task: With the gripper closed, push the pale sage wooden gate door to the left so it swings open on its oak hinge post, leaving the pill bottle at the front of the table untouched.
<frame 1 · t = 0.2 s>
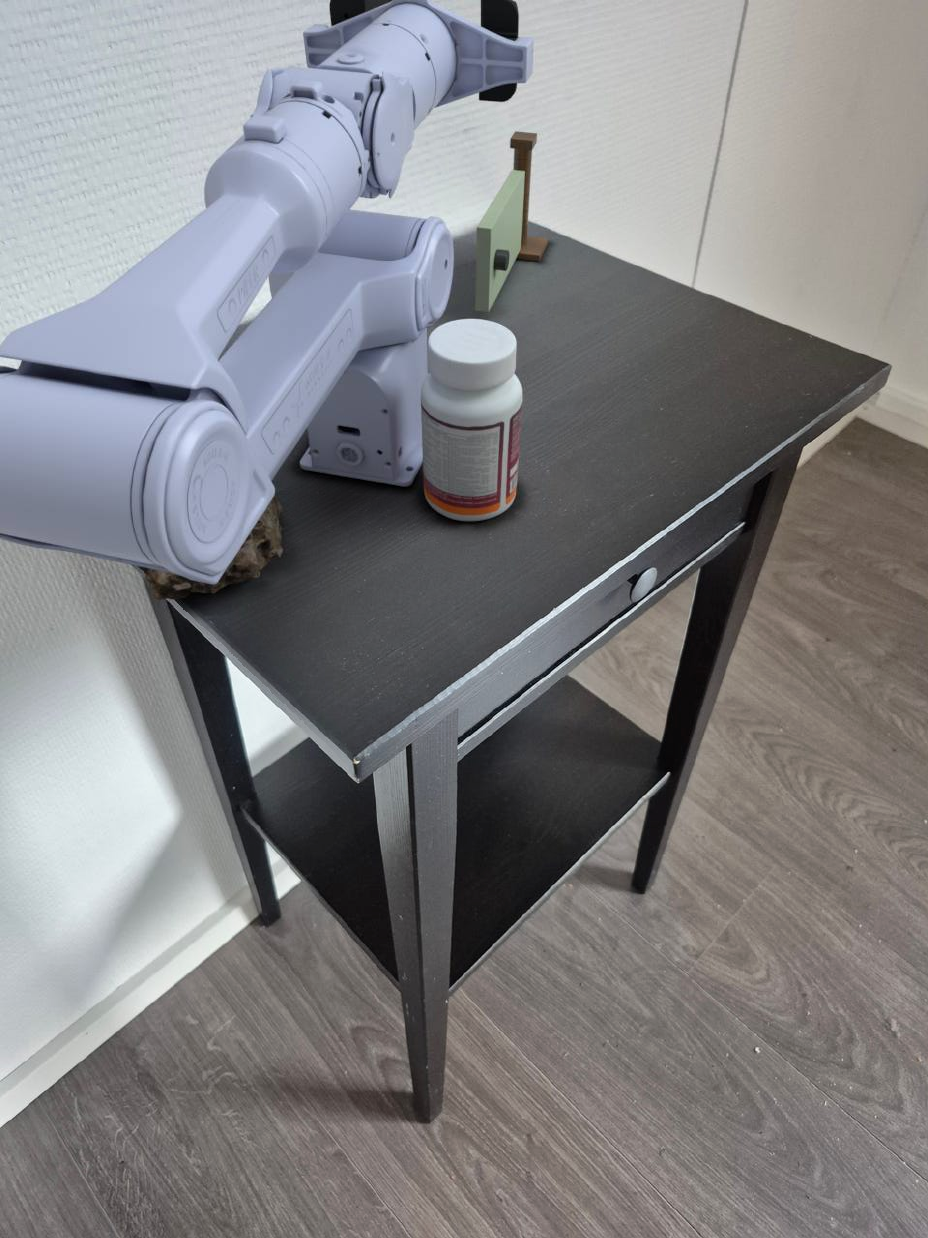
hand: (453, 17, 61), 21 cm above the table, tool horizontal, fingers open, 7 cm apart
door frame: (518, 249, 86), on the table
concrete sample: (203, 490, 52), point 4 cm above the table
pill bottle: (469, 498, 59), on the table
door: (506, 239, 77), point 4 cm above the table, hinge at 0.0°
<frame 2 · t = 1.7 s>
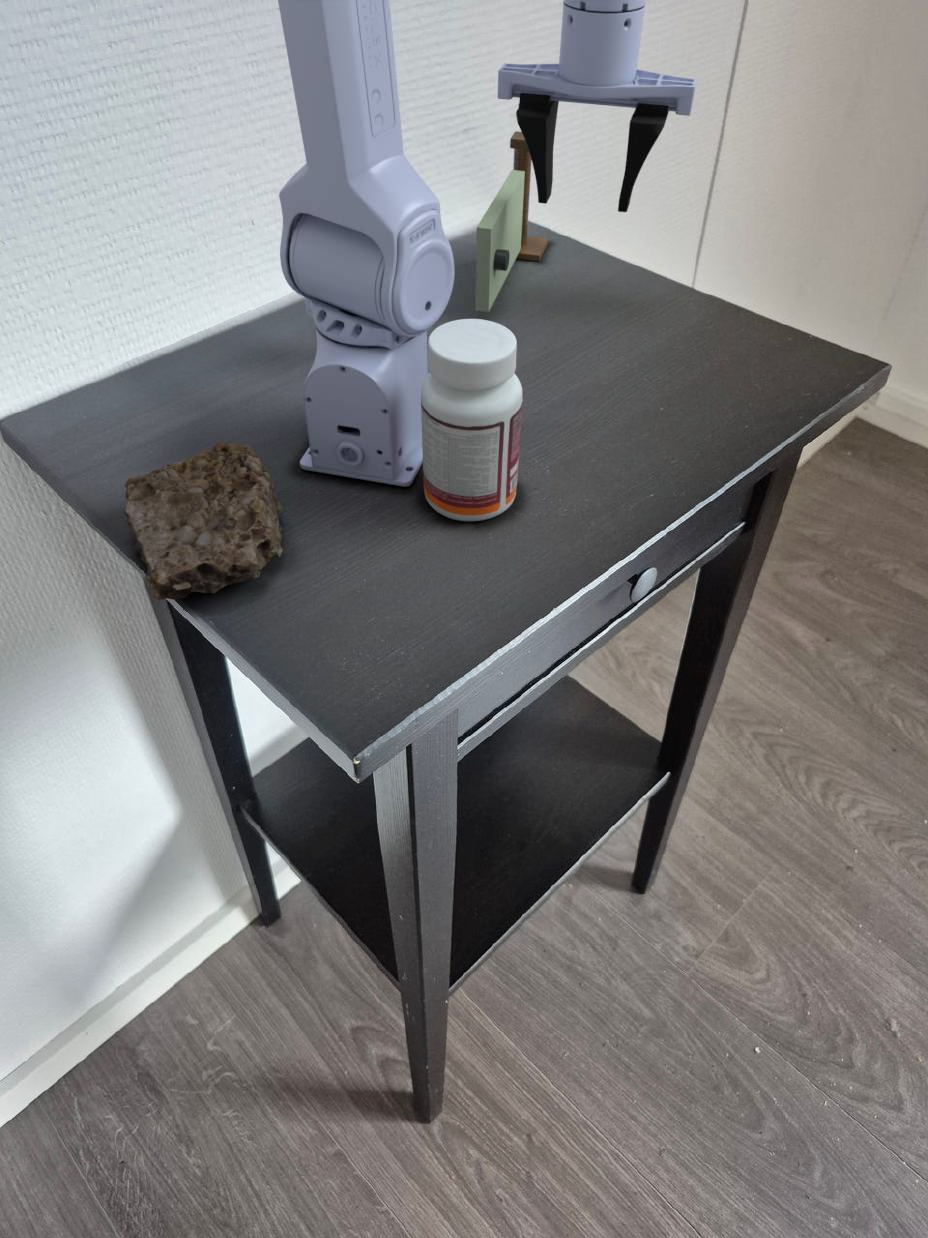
hand: (583, 202, 72), 8 cm above the table, tool pointing down, fingers open, 6 cm apart
nothing on the table moved.
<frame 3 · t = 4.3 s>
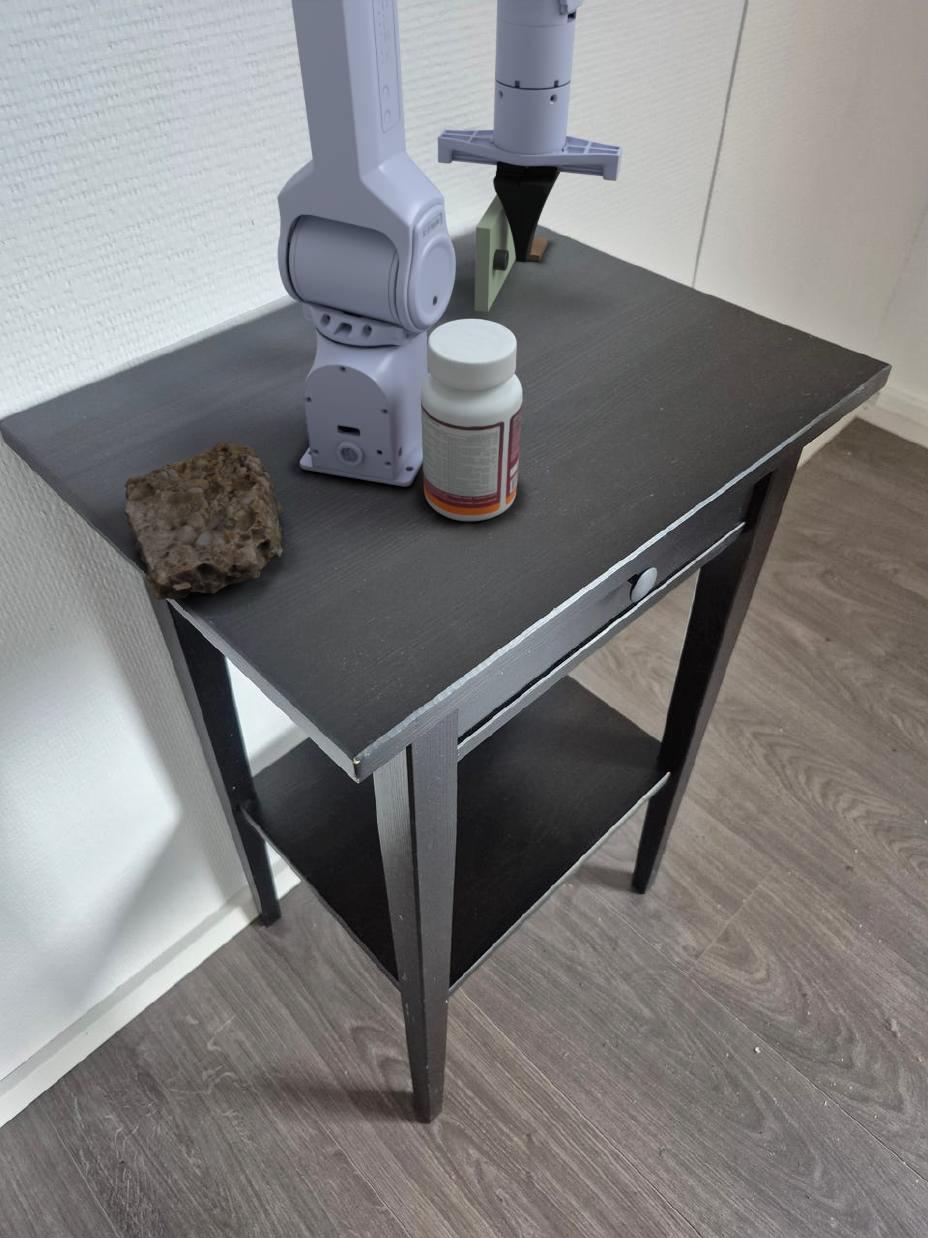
hand: (522, 256, 77), 3 cm above the table, tool pointing down, fingers closed
door: (505, 239, 77), point 4 cm above the table, hinge at 0.3°, touching gripper
everything else where it was.
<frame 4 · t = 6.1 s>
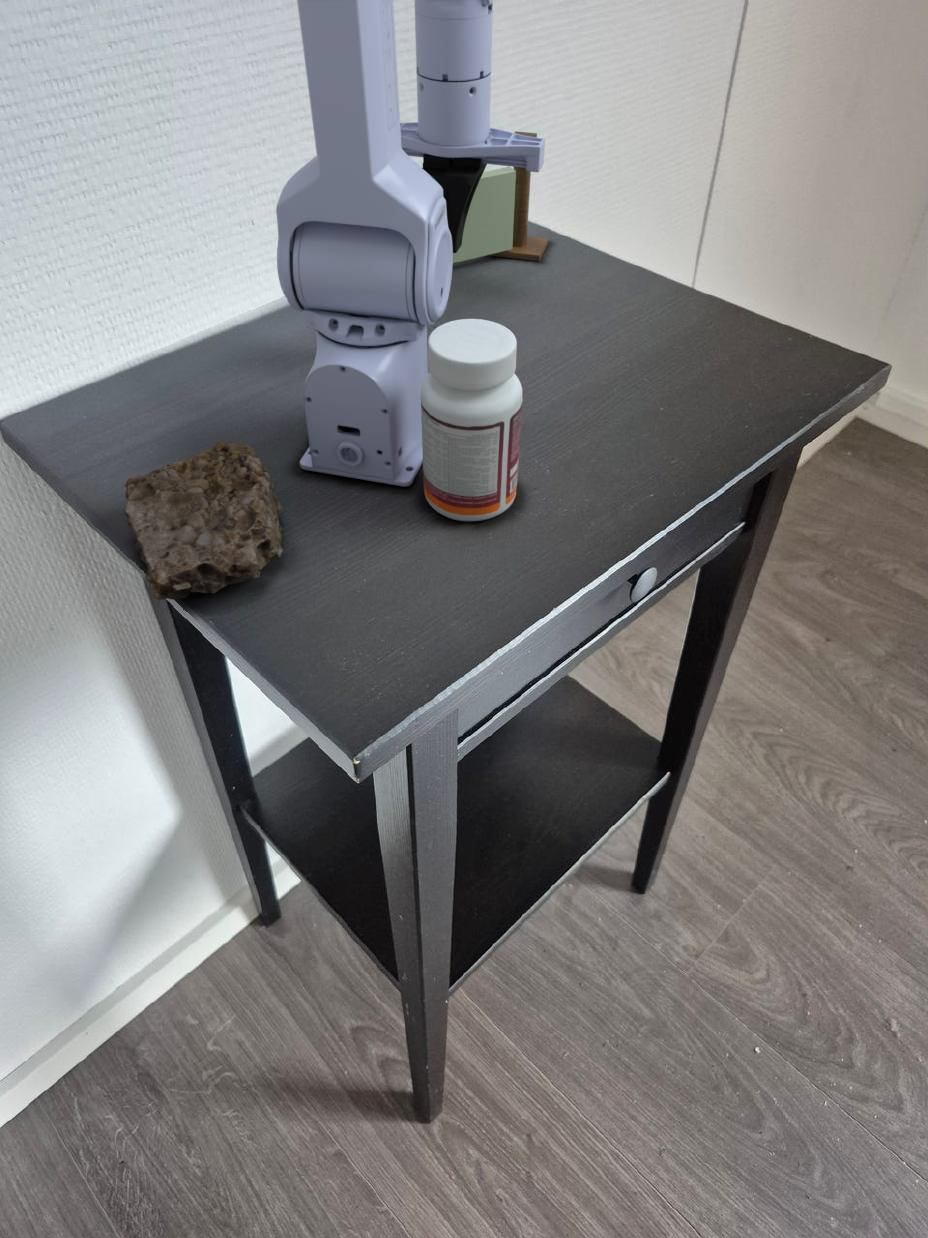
hand: (454, 248, 78), 3 cm above the table, tool pointing down, fingers closed
door: (452, 224, 79), point 4 cm above the table, hinge at 46.1°, touching gripper
everything else where it was.
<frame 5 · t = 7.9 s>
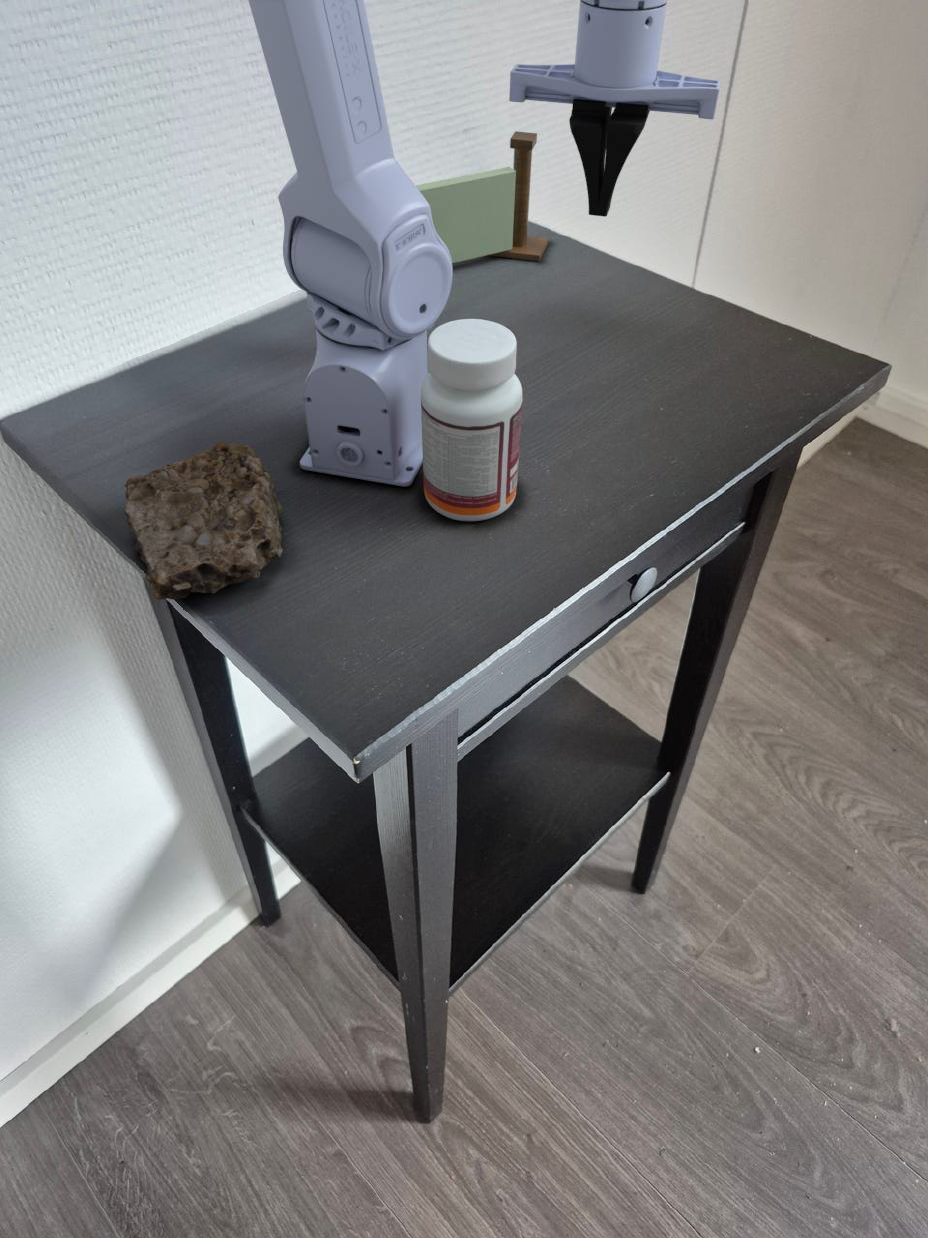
hand: (599, 210, 69), 9 cm above the table, tool pointing down, fingers closed
door: (452, 224, 79), point 4 cm above the table, hinge at 46.3°
everything else where it was.
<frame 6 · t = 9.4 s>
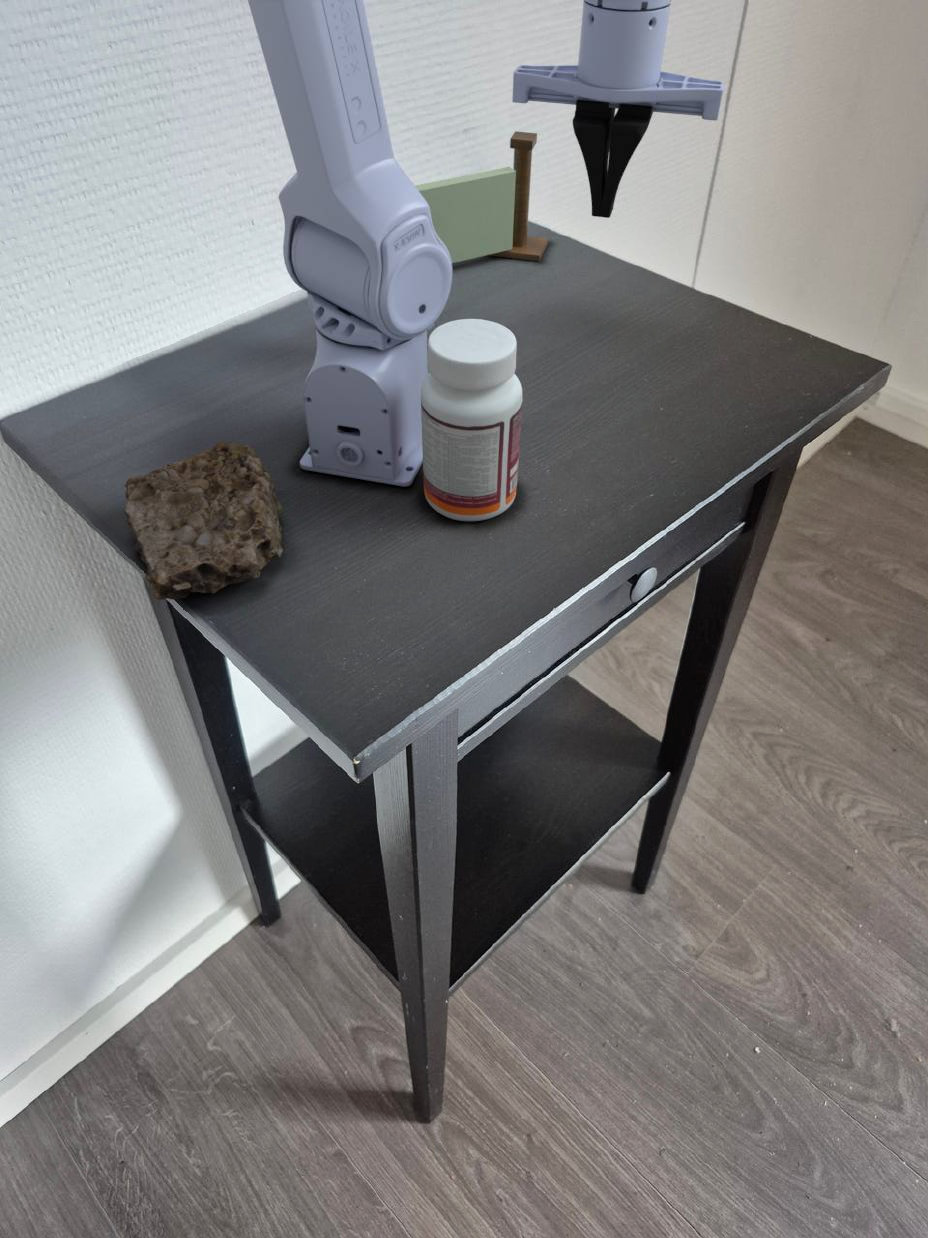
hand: (602, 211, 68), 9 cm above the table, tool pointing down, fingers closed
nothing on the table moved.
at the end: door at +46° (first picture: +0°); pill bottle moved 0.2 cm from its start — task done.
